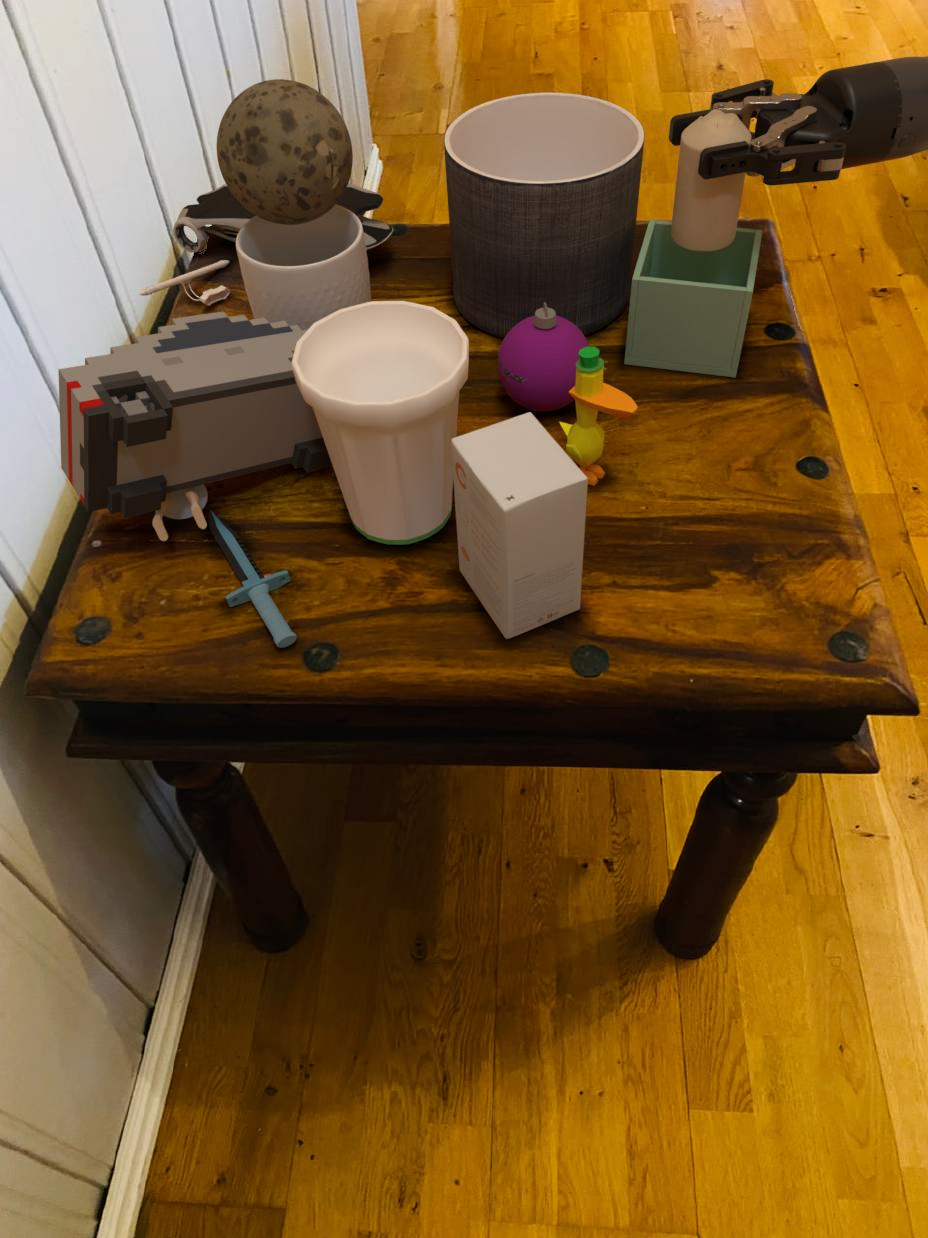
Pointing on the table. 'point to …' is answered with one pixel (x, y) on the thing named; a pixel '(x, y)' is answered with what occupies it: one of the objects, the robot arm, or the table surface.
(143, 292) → the picture light
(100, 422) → the toy car
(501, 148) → the planter
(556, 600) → the small box
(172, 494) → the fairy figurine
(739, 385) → the table surface
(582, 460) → the toy figure
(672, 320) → the waste bin
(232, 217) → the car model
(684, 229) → the candle
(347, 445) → the cup
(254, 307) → the mug
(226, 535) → the knife
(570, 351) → the christmas ornament
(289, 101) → the decorative egg
